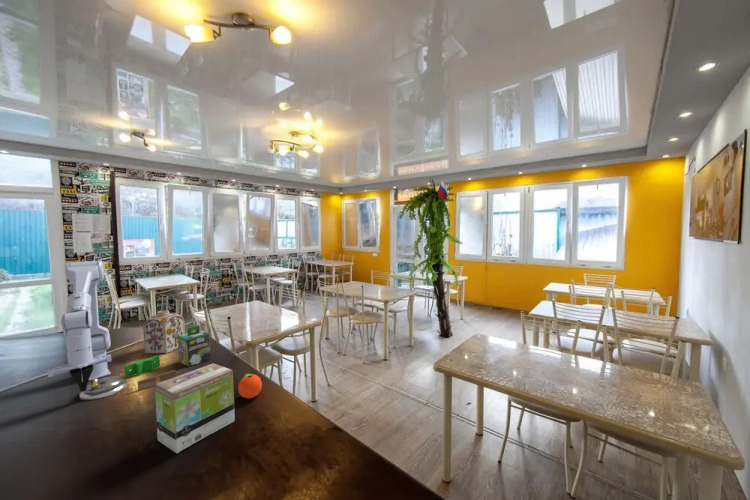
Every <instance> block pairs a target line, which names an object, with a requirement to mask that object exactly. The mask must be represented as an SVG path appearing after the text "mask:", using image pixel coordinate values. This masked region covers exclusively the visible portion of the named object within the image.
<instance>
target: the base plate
mask: <svg viewBox="0 0 750 500" xmlns="http://www.w3.org/2000/svg"><path fill="white" fill-rule="evenodd" d="M127 386H128V383H127V380H124V379H123V383H122V384H121V385H120V386H118V387H116V388H114V389H112V390H109V391H106V392H103V393H98V394H91V395H87V394H84V391H83V392H79V399H80V400H81V401H92V400H99V399H102V398H106V397H108V396H111V395H114V394H116V393H119V392H121V391H122V390H124V389H125V388H126V387H127Z"/></svg>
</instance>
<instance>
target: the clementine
mask: <svg viewBox="0 0 750 500" xmlns="http://www.w3.org/2000/svg"><path fill="white" fill-rule="evenodd" d="M262 388H263V383H262V380H261V377H260V376H258V375H256V374H253V373H246V374H244V375H243V378H241V380H240V381H239V383H238V387H237V389H238V390H237V391H238V393H239V395H240V396H241V397H242V398H244V399H253V398H255V397H257V396H258V395H259V393H260V392H261V390H262Z"/></svg>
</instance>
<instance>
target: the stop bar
mask: <svg viewBox="0 0 750 500" xmlns="http://www.w3.org/2000/svg"><path fill="white" fill-rule="evenodd" d="M176 371H177V370H176V369H173V370H170V371H167V372H162V373H160V374H158V375H155V376H153V375H152V376H151V377H148V378H144V379H141V380H138V381H137V391H139V392H140V391H143V390H147V389H150V388H152V387H153V388H154V387H155V385H156V384H158V383H160V382H163V381H166V380H169V379H171V378H174V377H177V372H176Z"/></svg>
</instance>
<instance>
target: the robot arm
mask: <svg viewBox="0 0 750 500" xmlns="http://www.w3.org/2000/svg"><path fill="white" fill-rule="evenodd" d="M104 269H105V268H104V263H103V261H102V260H99V259H98V260H90V261H89V260H88V261H87V260H86V261H75V262H74V261H73V262H71V261H68V262H66V263H65V266H64V273H65V278H66V279H67V280H68V281H69V282H70V283H71V284H72V285H73V288H72V289H73V291H72V292H73V293H71V294H70V295H69V296H68V298H67V302H66V303H67V304H66V309H65V314H62V316H61V319H60V321H61V322H60V323H61V328H62V332H63V337H64V338H65V345H66V354H67V356H66V357H67V363H66V364H61V365H59V366H56V367H52V368H48V369H47V377H48V378H52V377H54V376H56V375H57V376H58V375H60V374H65V373H69V374H70V376H71V377H72V378H73V380H74V381H75V382H76V384H77V385H78V387H79V391H80V392H79V393H81V392H83V391H86V390H87V384H88V383H89V381H91V380H92V379H95V378H97V379H100V378H104V377H107V376H109V375H111V374H112V372H110V369H108V363H109V362H110V363H111V362H112V355H111V354H107V350H109V349H110V348H111V334H110V331H109V328H108V327H104V326H102V325H100V319H99V318H100V317H99V306H98V305H99V304H98V284H99V283H101V282H102V283H103V281H104V279H105V272H104V271H105V270H104Z"/></svg>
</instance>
